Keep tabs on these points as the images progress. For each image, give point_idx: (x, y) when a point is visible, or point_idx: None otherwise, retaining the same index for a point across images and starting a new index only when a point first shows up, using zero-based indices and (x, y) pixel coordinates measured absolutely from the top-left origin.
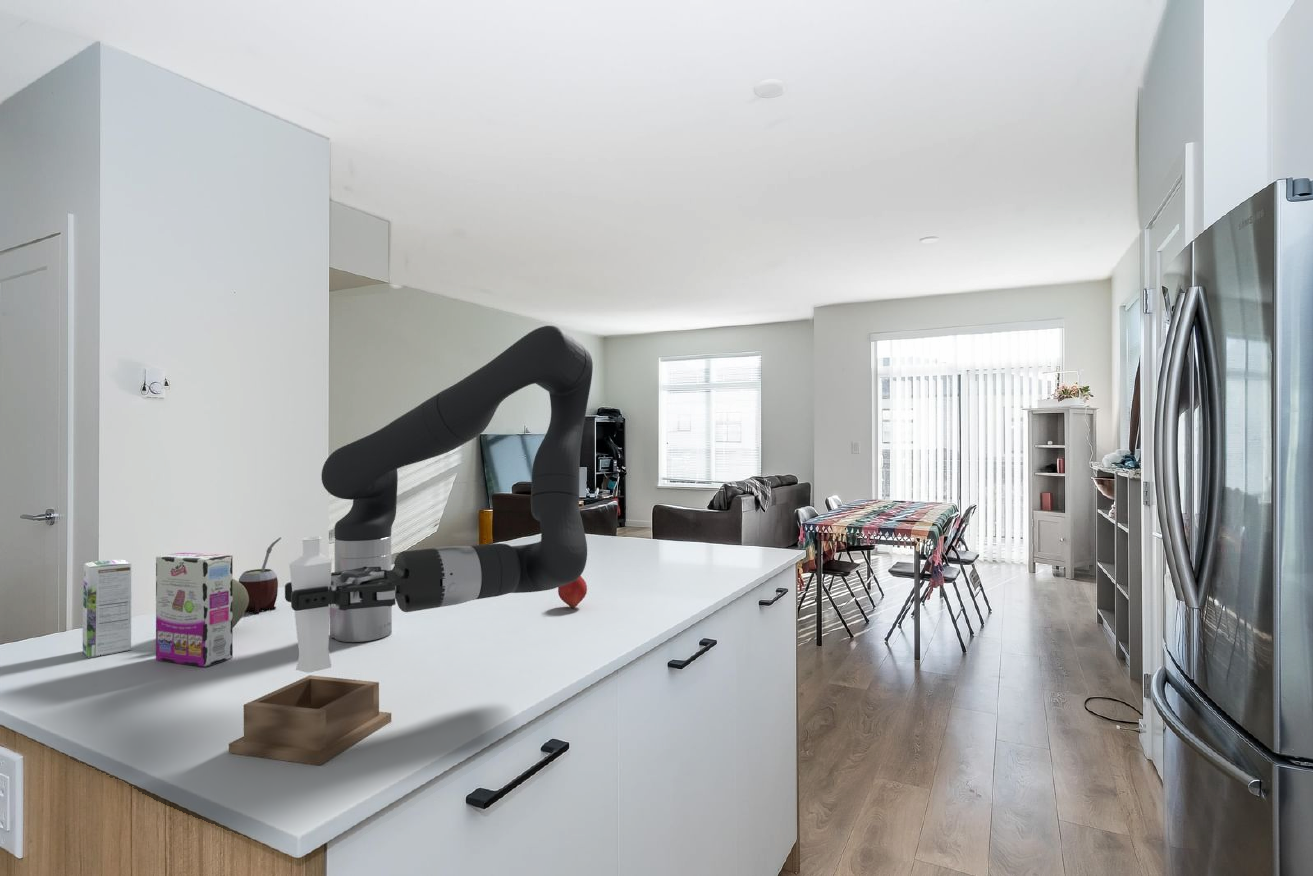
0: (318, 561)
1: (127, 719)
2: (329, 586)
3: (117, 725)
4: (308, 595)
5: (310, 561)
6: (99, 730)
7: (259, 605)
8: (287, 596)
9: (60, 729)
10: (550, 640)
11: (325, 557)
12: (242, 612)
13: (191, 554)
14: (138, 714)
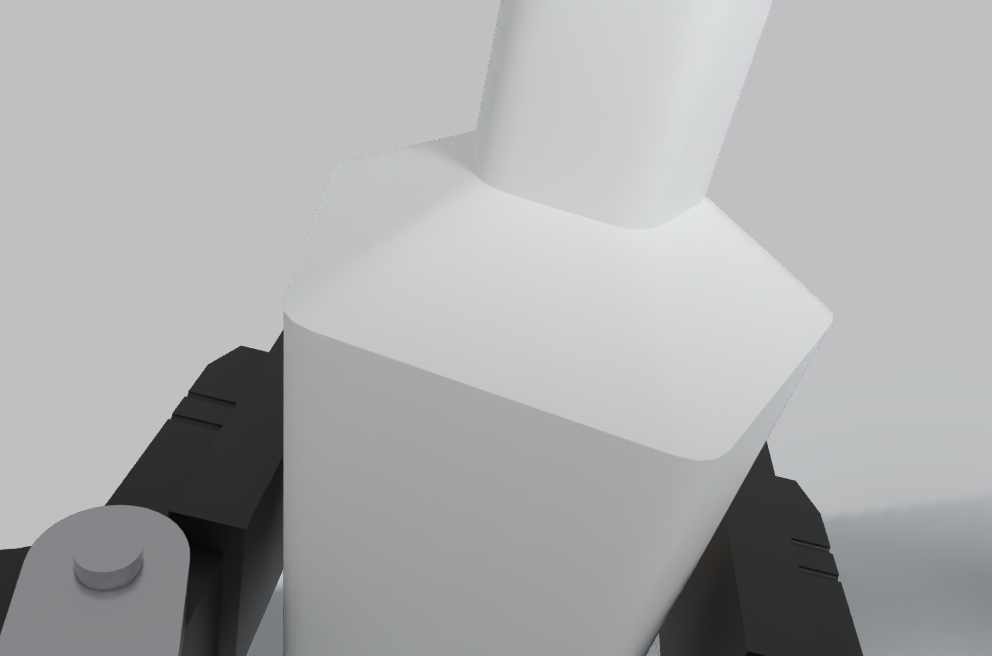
0: (356, 209)
1: (937, 622)
2: (157, 516)
3: (892, 594)
4: (195, 398)
5: (391, 165)
6: (867, 559)
7: None
8: None
9: (912, 511)
10: None
11: (466, 265)
12: None
13: None
14: (976, 652)
